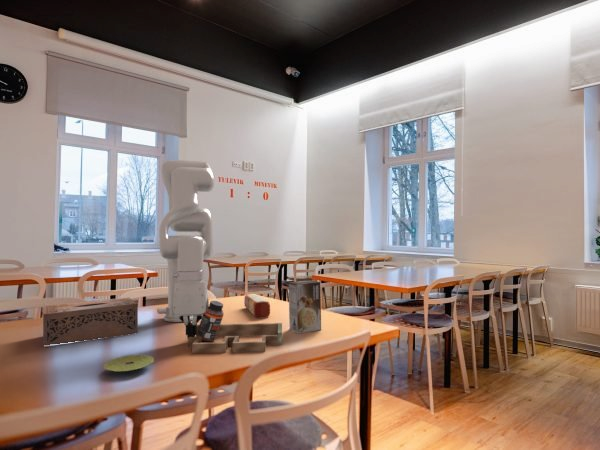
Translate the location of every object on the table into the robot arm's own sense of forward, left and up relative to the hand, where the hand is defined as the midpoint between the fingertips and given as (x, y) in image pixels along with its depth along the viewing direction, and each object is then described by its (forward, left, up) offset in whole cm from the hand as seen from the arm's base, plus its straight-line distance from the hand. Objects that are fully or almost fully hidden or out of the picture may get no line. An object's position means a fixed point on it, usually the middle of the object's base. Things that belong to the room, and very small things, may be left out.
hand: (191, 337), depth 115 cm
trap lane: (+14, -2, -1) cm, 14 cm away
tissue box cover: (-35, +11, -2) cm, 37 cm away
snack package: (+17, +39, -2) cm, 42 cm away
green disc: (-10, -22, -2) cm, 24 cm away
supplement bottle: (+4, +1, -1) cm, 4 cm away
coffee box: (+35, +11, -2) cm, 37 cm away
